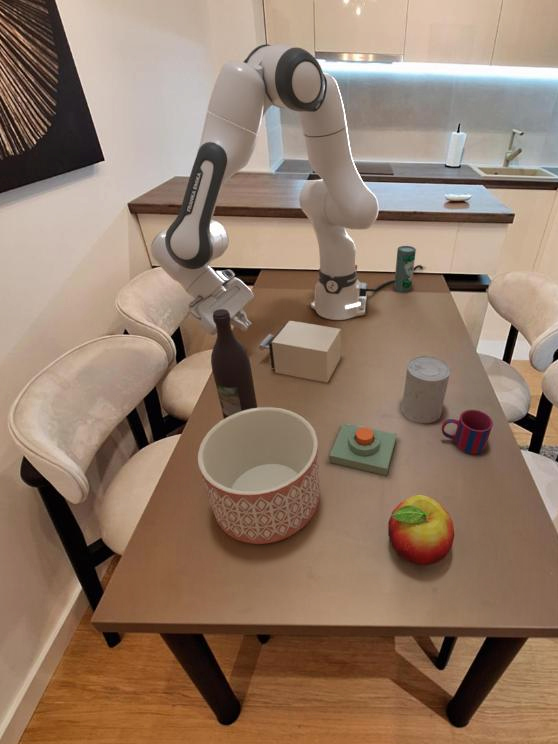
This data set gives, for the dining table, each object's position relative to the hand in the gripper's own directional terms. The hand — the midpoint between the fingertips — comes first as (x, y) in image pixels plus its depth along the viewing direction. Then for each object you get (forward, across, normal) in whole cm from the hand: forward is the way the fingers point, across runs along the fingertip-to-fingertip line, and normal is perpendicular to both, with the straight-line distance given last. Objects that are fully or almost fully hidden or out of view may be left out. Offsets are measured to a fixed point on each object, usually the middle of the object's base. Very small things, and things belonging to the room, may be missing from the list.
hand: (248, 328), depth 107 cm
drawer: (+15, 0, -4) cm, 15 cm away
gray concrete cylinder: (+41, -9, -28) cm, 50 cm away
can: (+30, +57, -17) cm, 66 cm away
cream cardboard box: (+18, 0, -6) cm, 19 cm away
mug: (+48, -17, -35) cm, 62 cm away
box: (+34, -26, -21) cm, 47 cm away
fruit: (+44, -44, -31) cm, 69 cm away
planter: (+24, -43, -11) cm, 50 cm away
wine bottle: (+15, -29, -3) cm, 33 cm away
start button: (+31, -26, -24) cm, 47 cm away
